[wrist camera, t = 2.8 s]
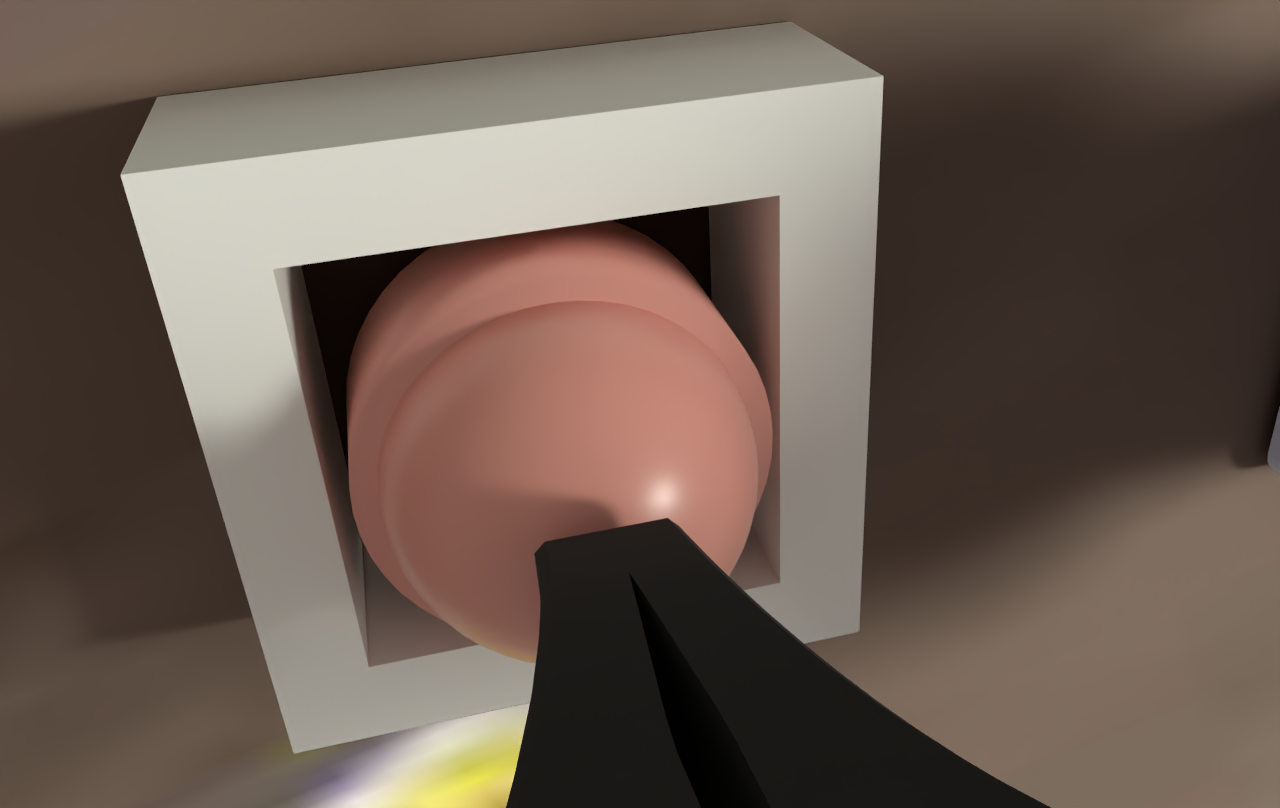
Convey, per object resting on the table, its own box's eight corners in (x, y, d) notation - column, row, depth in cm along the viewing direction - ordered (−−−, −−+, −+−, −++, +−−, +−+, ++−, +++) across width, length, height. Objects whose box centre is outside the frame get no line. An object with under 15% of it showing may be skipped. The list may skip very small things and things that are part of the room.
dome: (714, 179, 15) (849, 328, 11) (724, 504, 17) (835, 716, 13) (309, 236, 14) (303, 419, 10) (382, 570, 16) (401, 814, 13)
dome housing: (790, 21, 15) (883, 76, 13) (788, 515, 19) (859, 631, 17) (158, 97, 14) (120, 174, 11) (298, 611, 18) (293, 753, 15)
